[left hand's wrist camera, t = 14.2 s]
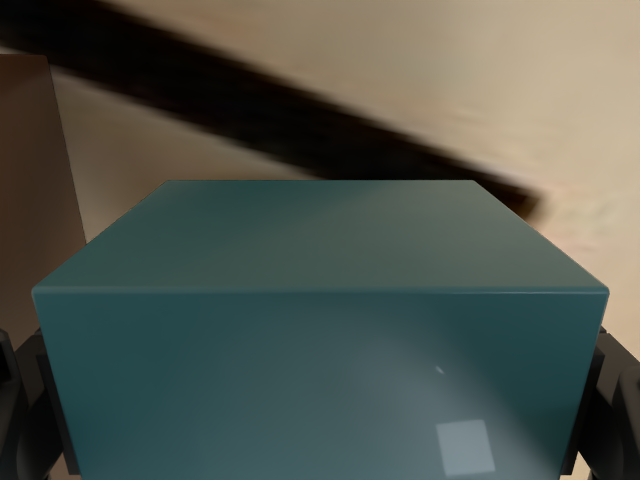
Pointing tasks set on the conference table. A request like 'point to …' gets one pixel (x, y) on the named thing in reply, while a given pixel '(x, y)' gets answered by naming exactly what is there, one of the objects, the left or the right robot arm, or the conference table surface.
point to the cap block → (320, 335)
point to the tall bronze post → (32, 197)
